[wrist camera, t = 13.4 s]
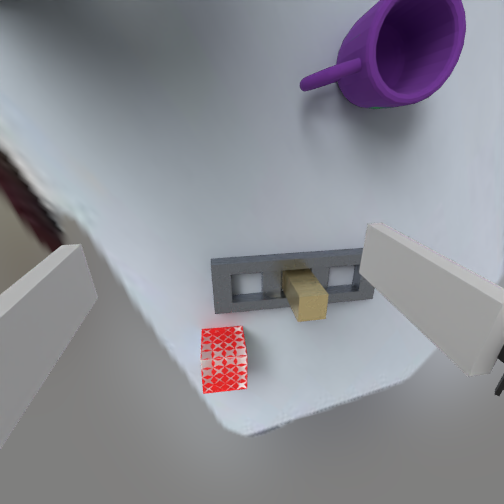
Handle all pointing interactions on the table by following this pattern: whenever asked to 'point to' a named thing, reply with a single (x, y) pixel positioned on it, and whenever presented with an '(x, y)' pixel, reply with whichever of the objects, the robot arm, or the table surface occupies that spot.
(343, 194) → the table surface
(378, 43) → the mug
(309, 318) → the brass peg
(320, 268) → the rail
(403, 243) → the robot arm
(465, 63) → the table surface
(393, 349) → the table surface
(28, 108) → the table surface
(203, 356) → the red patterned cube
